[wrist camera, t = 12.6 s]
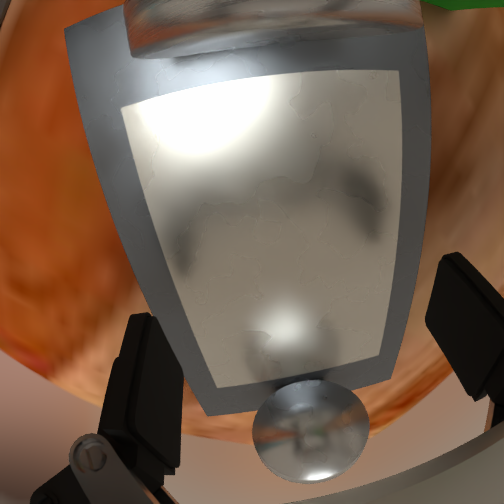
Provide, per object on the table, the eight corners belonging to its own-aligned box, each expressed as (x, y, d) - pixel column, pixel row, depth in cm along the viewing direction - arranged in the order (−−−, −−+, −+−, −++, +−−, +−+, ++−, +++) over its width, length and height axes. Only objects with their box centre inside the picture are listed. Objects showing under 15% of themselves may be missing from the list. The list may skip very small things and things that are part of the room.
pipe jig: (81, 33, 8) (-69, 16, 1) (396, -7, 8) (545, -34, 1) (207, 397, 19) (209, 502, 12) (382, 362, 19) (422, 455, 12)
